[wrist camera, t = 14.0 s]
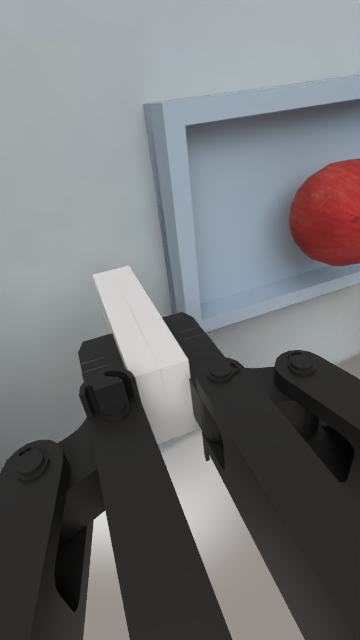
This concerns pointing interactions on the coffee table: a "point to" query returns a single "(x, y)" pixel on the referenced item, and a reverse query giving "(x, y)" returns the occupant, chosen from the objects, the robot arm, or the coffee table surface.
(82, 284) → the coffee table surface
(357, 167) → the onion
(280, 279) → the tray
